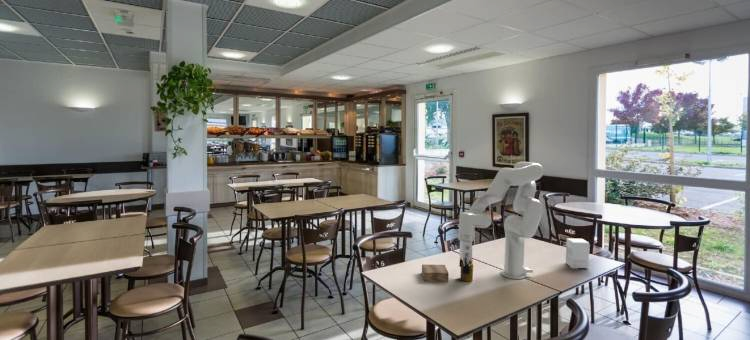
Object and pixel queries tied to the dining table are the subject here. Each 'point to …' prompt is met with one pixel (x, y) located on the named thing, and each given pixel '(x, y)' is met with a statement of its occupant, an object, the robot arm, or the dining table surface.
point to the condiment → (466, 277)
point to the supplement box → (577, 253)
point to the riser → (434, 273)
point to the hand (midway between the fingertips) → (464, 270)
